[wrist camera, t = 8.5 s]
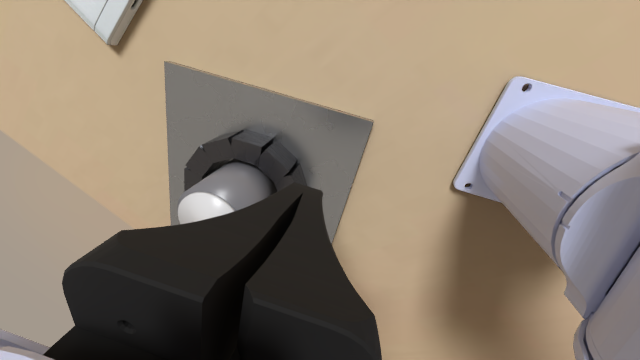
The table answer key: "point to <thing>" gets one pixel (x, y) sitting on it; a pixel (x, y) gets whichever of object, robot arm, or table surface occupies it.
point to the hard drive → (106, 16)
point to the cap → (224, 192)
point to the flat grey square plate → (259, 137)
